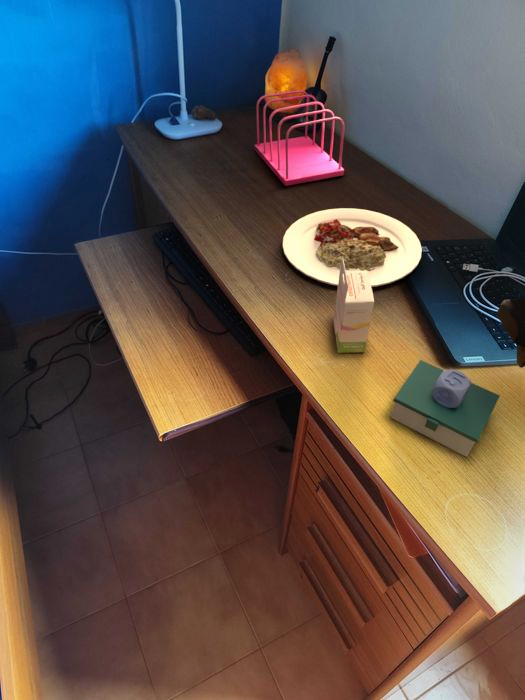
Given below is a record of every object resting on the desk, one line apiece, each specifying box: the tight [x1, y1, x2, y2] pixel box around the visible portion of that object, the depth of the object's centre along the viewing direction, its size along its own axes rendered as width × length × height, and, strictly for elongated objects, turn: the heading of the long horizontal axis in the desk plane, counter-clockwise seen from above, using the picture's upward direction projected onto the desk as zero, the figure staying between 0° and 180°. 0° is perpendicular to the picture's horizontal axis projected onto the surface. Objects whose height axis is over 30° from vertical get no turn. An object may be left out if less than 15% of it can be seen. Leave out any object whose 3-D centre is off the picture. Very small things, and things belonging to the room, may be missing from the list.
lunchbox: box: [390, 359, 501, 458], centre depth 70 cm, size 12×10×5 cm
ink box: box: [333, 257, 375, 354], centre depth 79 cm, size 9×5×15 cm, turn 179°
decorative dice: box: [432, 369, 472, 408], centre depth 67 cm, size 4×4×4 cm
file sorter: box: [254, 89, 345, 187], centre depth 128 cm, size 17×25×16 cm
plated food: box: [282, 207, 423, 288], centre depth 102 cm, size 30×30×3 cm
